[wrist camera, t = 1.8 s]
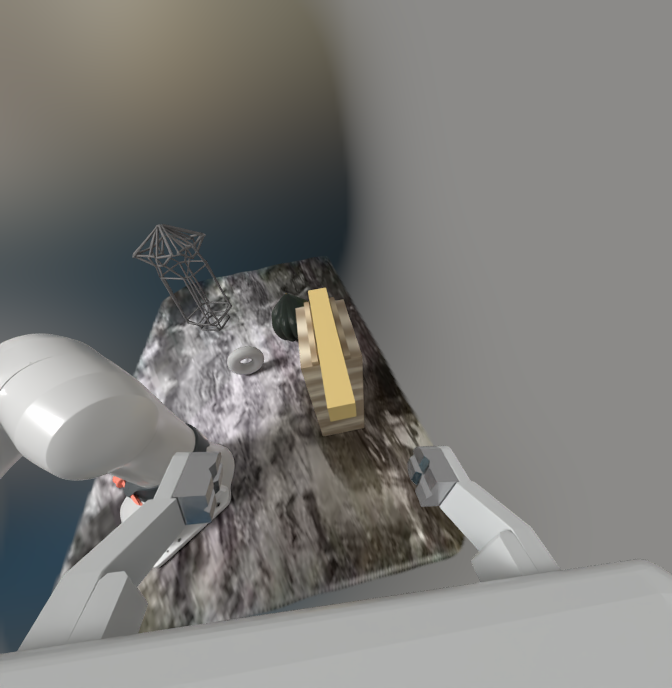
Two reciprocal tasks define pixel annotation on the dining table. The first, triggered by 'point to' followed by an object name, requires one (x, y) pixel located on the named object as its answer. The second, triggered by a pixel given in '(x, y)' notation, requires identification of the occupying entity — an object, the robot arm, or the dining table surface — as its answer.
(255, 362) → the donut
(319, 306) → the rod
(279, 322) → the squash
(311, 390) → the plinth
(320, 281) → the dining table surface
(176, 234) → the geometric lantern
